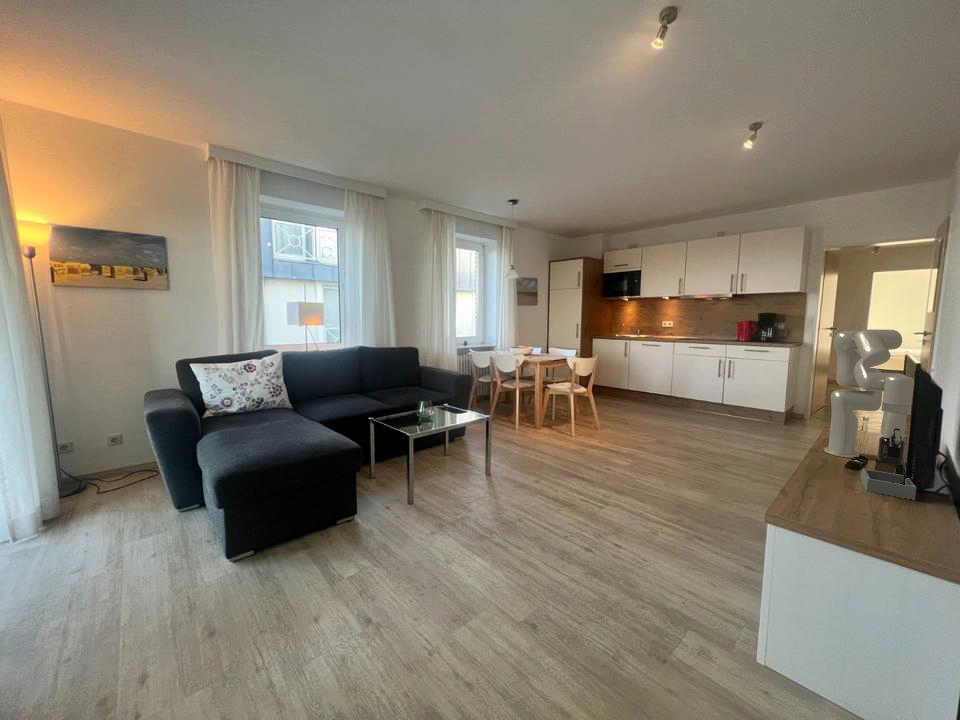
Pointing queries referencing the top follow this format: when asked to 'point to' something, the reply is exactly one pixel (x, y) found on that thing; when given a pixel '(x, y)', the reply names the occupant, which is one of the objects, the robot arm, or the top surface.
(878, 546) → the top surface
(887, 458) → the supplement bottle
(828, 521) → the top surface
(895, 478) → the bin
